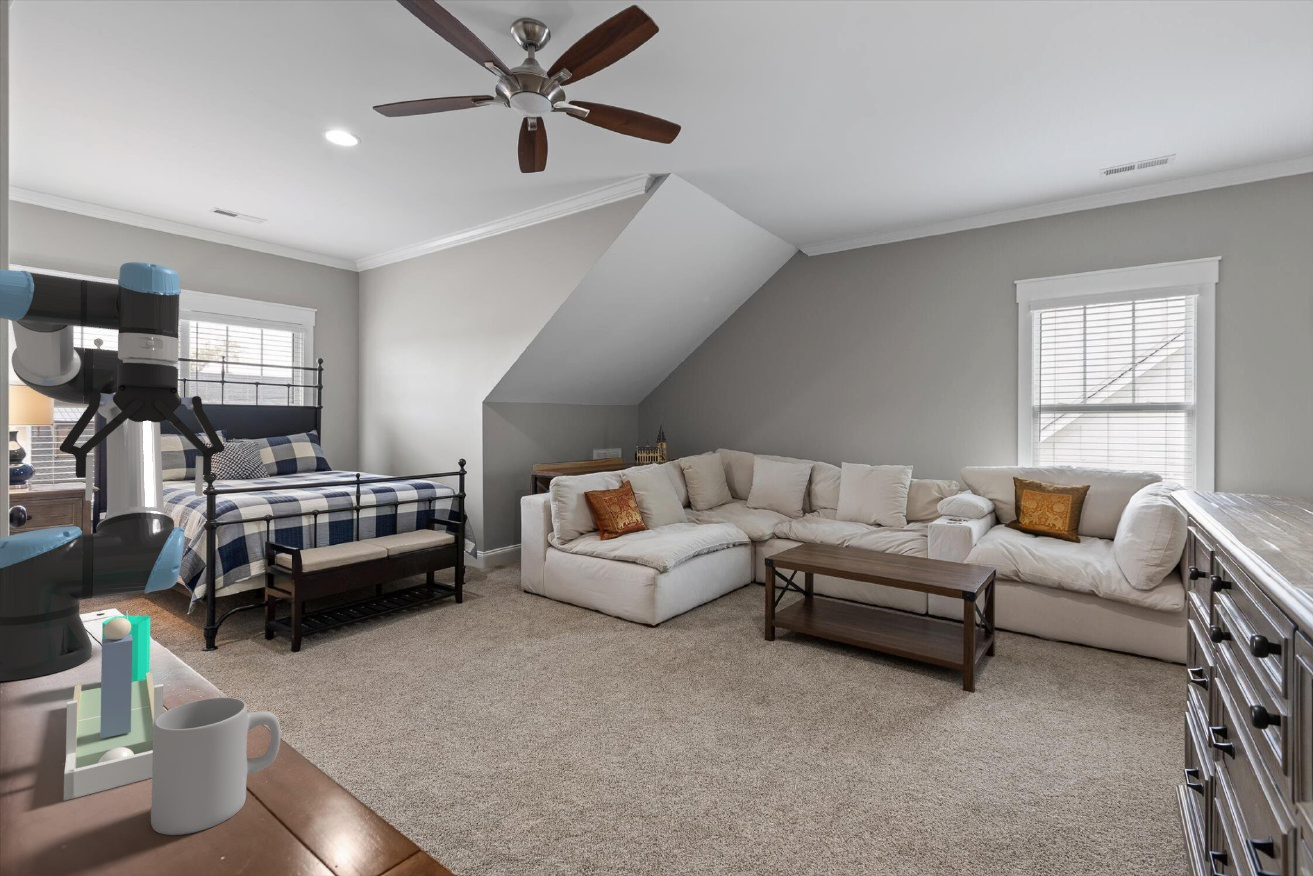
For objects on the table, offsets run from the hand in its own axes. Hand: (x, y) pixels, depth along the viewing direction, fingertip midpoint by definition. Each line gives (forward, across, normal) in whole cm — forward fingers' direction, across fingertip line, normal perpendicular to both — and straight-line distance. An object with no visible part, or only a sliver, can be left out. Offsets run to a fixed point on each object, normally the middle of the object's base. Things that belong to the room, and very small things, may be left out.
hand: (146, 497), depth 101 cm
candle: (+31, -2, +5) cm, 31 cm away
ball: (+29, -4, -30) cm, 42 cm away
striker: (+28, -3, -21) cm, 35 cm away
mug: (+31, +5, -44) cm, 54 cm away
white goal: (+31, -4, -29) cm, 43 cm away
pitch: (+31, -4, -14) cm, 34 cm away
